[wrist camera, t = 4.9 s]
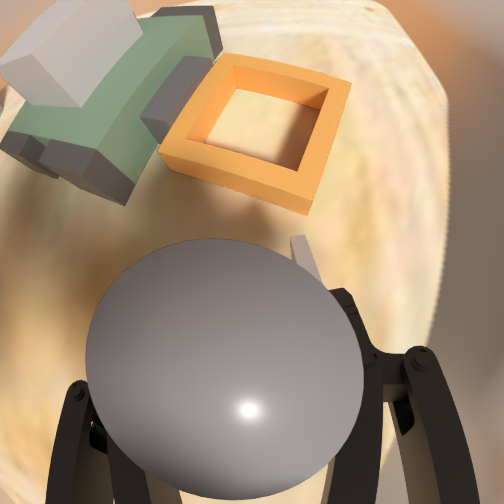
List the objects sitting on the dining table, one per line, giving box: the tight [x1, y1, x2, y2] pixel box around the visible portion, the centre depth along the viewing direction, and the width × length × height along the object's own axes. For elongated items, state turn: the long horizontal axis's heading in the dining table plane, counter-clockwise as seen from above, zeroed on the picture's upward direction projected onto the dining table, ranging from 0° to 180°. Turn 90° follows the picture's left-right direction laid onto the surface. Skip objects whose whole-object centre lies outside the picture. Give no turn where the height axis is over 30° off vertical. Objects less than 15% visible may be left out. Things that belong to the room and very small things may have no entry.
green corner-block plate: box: [0, 0, 352, 216], centre depth 15 cm, size 30×19×13 cm, turn 68°
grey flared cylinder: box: [85, 239, 364, 500], centre depth 12 cm, size 6×6×13 cm
